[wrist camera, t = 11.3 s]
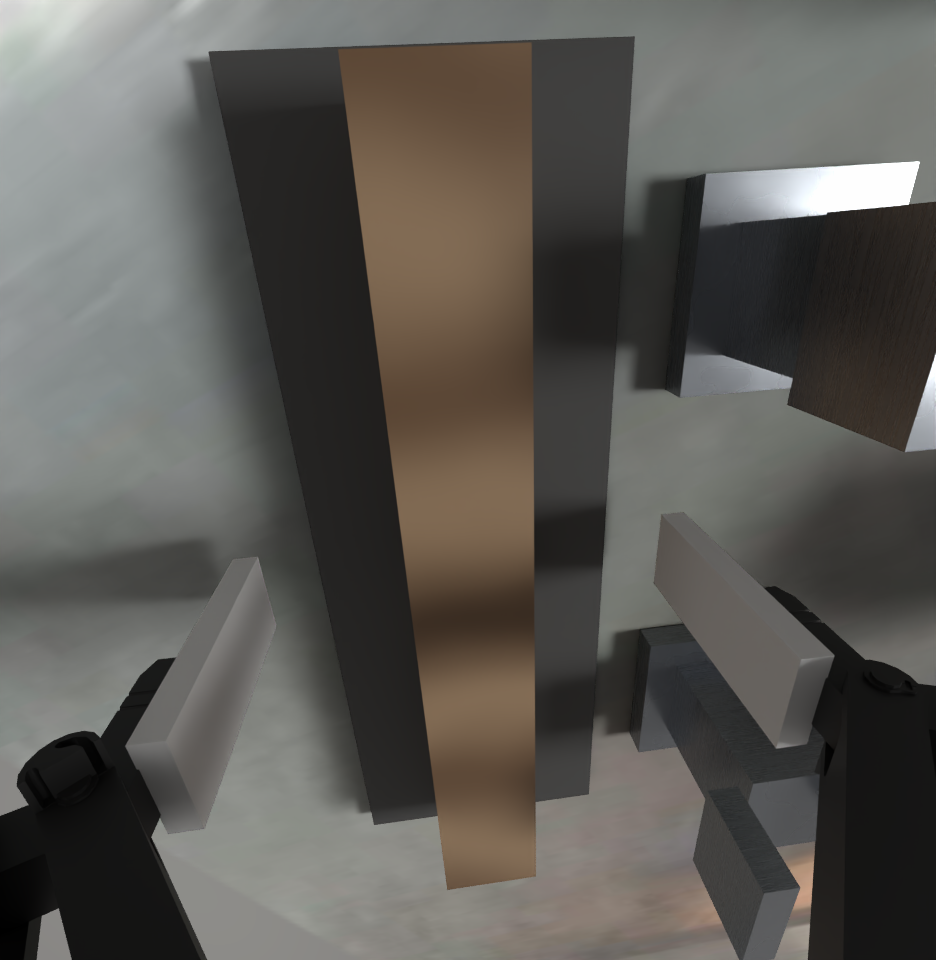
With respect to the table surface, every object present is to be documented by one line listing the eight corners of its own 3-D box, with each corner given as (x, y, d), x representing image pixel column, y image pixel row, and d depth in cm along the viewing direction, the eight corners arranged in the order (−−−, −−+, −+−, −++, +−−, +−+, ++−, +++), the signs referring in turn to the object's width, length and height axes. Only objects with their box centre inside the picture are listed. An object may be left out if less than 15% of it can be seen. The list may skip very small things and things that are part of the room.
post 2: (633, 630, 21) (772, 866, 13) (786, 612, 21) (1012, 828, 13) (623, 733, 23) (735, 985, 15) (760, 714, 24) (938, 949, 16)
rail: (356, 102, 12) (337, 49, 9) (500, 95, 12) (531, 42, 9) (442, 801, 23) (447, 889, 20) (518, 790, 23) (535, 876, 20)
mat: (217, 60, 12) (208, 51, 12) (625, 45, 13) (635, 36, 12) (375, 811, 24) (374, 825, 23) (584, 782, 24) (588, 794, 24)
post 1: (676, 179, 14) (1021, 84, 6) (897, 166, 15) (1482, 63, 7) (656, 390, 17) (883, 517, 9) (846, 373, 17) (1226, 480, 9)
